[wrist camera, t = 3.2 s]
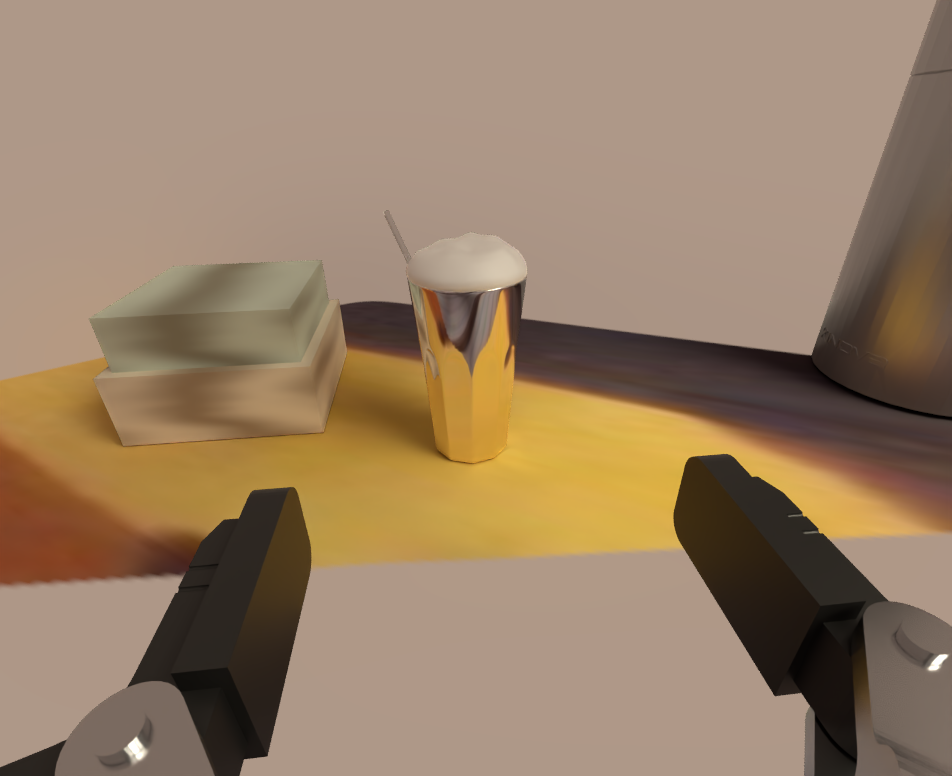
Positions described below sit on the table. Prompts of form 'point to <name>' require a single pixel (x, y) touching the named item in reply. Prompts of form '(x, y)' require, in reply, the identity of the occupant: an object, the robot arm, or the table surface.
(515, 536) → the table surface
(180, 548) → the table surface
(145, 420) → the tower base
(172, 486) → the table surface
